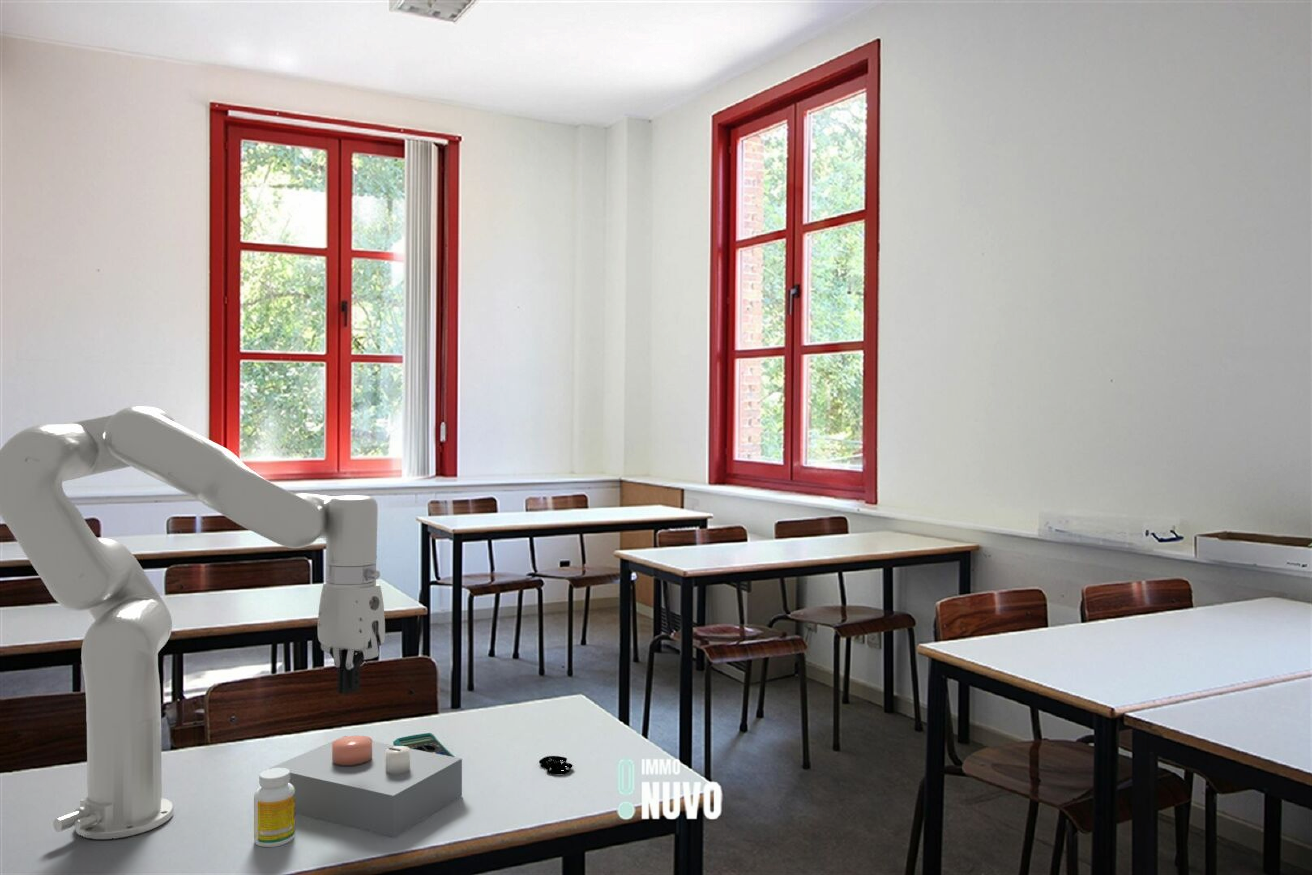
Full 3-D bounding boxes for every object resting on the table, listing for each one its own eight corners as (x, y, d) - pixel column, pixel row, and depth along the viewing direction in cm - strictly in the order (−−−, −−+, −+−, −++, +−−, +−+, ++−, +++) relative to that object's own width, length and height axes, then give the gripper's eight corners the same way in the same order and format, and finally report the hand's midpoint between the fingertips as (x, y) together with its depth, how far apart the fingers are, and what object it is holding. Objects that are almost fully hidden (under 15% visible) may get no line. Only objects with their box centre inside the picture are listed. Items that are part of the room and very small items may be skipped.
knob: (399, 775, 142) (399, 754, 142) (380, 771, 143) (380, 750, 143) (414, 767, 145) (414, 746, 145) (396, 763, 146) (396, 743, 146)
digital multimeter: (415, 781, 156) (415, 764, 156) (392, 753, 169) (392, 736, 169) (458, 773, 160) (458, 756, 160) (432, 746, 172) (432, 730, 172)
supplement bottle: (247, 839, 133) (247, 772, 133) (284, 827, 137) (284, 762, 137) (264, 852, 130) (264, 783, 129) (302, 839, 134) (301, 772, 133)
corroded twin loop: (549, 779, 157) (549, 773, 157) (534, 763, 164) (534, 757, 164) (577, 774, 159) (577, 768, 159) (562, 758, 166) (562, 752, 166)
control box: (393, 837, 134) (393, 795, 134) (270, 806, 145) (269, 767, 144) (461, 796, 149) (461, 758, 149) (345, 771, 159) (345, 735, 159)
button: (353, 784, 144) (353, 751, 144) (323, 777, 146) (323, 745, 146) (380, 770, 149) (380, 739, 149) (351, 764, 152) (351, 733, 152)
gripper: (405, 576, 147) (402, 693, 148) (332, 567, 154) (329, 679, 154) (371, 583, 140) (368, 705, 141) (296, 573, 147) (294, 690, 147)
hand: (348, 691), depth 147 cm, fingers closed
